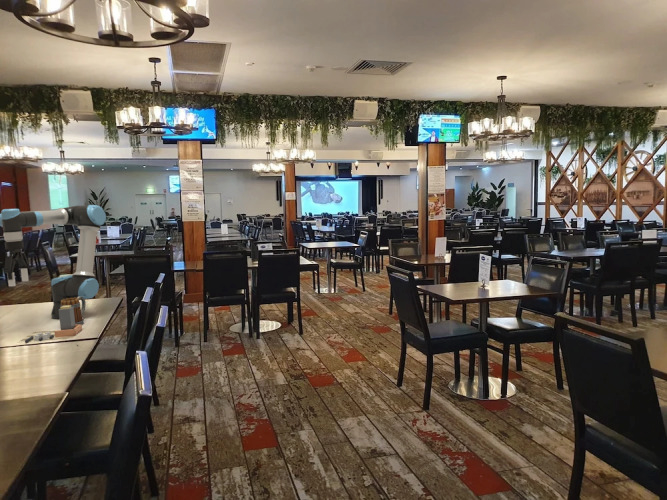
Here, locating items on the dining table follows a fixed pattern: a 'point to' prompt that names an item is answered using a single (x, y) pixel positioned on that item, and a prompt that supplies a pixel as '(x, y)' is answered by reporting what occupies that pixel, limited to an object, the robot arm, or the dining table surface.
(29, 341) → the board
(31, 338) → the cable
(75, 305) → the mug
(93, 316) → the dining table surface
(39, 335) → the cable clips
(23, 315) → the dining table surface
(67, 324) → the grey tall block
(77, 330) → the end holder
